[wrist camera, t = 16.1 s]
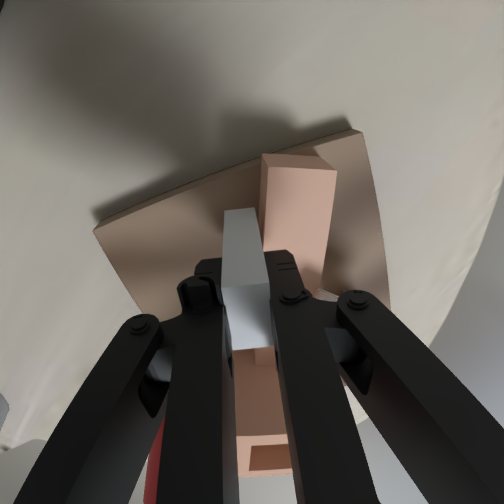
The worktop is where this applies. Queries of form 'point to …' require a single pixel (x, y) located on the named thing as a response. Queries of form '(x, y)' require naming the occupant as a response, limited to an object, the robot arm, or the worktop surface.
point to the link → (310, 268)
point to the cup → (3, 410)
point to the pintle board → (247, 196)
